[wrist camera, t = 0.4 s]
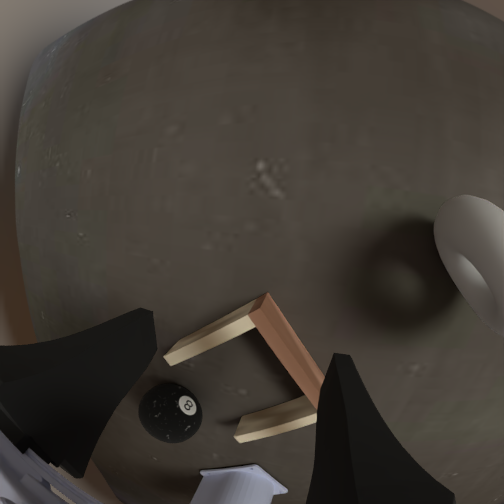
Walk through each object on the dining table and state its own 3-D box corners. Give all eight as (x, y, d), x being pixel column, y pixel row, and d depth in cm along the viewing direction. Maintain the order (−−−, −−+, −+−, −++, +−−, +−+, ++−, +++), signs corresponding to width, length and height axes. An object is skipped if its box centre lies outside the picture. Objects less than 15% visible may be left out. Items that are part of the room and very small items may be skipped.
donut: (490, 284, 16) (561, 336, 6) (463, 311, 17) (525, 378, 8) (437, 183, 16) (524, 181, 6) (405, 212, 17) (481, 233, 7)
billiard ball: (221, 406, 24) (200, 448, 18) (186, 421, 26) (163, 457, 20) (179, 364, 24) (147, 401, 18) (148, 384, 26) (118, 417, 20)
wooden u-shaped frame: (247, 422, 24) (239, 442, 21) (179, 339, 23) (163, 356, 20) (335, 392, 21) (335, 415, 18) (267, 292, 20) (259, 308, 18)
